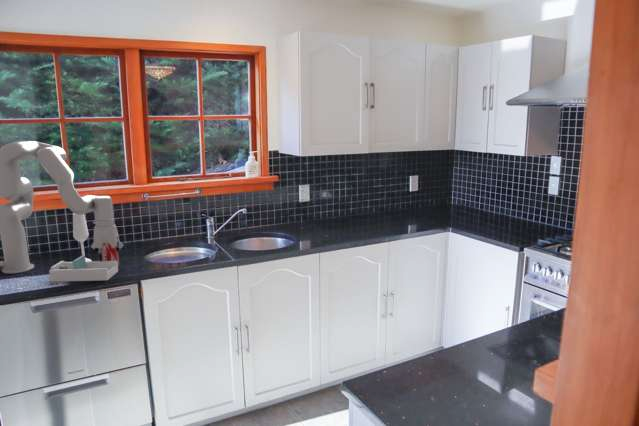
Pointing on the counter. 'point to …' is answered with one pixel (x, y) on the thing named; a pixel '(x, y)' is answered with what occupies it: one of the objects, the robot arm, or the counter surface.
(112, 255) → the soda can
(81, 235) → the champagne flute
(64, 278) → the light grey tray
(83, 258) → the pusher plate
